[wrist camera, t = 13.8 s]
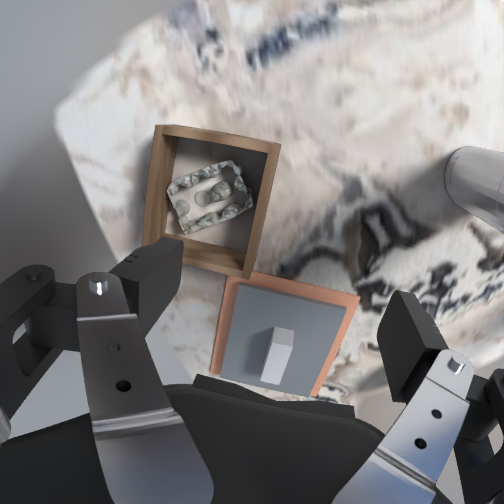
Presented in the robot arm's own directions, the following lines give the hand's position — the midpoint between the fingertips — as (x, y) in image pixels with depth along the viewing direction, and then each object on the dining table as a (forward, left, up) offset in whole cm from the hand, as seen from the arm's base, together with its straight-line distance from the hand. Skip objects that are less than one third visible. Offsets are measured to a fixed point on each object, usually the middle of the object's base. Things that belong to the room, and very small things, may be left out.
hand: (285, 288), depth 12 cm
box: (+10, +5, -32) cm, 34 cm away
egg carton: (+11, +5, -33) cm, 35 cm away
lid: (-4, +26, -31) cm, 41 cm away
